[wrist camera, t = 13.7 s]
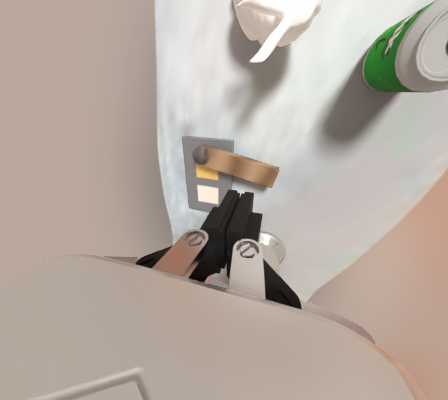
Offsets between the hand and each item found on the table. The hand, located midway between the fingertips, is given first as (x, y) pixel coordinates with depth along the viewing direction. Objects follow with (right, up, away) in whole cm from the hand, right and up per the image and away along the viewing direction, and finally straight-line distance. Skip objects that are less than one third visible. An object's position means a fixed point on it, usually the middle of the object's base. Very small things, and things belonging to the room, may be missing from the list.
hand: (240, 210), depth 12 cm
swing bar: (+1, +8, +24) cm, 25 cm away
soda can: (+22, +20, +13) cm, 33 cm away
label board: (-5, +6, +30) cm, 31 cm away
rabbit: (+6, +27, +14) cm, 31 cm away
